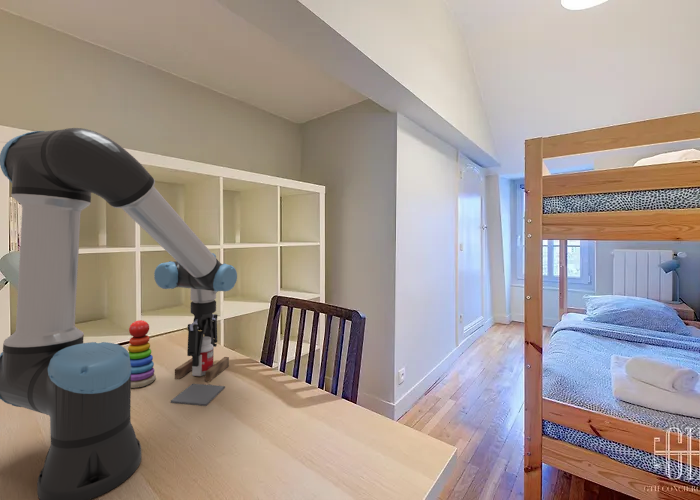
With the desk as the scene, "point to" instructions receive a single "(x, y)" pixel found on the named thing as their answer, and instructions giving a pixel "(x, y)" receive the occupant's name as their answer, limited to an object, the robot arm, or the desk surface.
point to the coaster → (198, 394)
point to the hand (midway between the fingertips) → (203, 370)
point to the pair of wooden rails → (209, 374)
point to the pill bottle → (207, 354)
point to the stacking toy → (140, 355)
